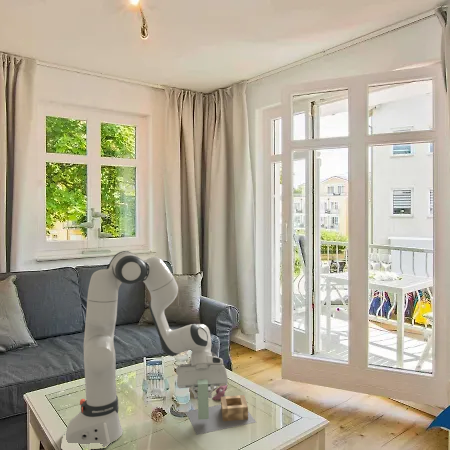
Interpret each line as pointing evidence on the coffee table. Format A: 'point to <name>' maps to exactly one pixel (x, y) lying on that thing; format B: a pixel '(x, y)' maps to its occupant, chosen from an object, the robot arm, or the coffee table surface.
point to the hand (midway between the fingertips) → (203, 397)
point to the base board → (214, 421)
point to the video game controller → (220, 392)
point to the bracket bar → (203, 399)
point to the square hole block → (234, 408)
